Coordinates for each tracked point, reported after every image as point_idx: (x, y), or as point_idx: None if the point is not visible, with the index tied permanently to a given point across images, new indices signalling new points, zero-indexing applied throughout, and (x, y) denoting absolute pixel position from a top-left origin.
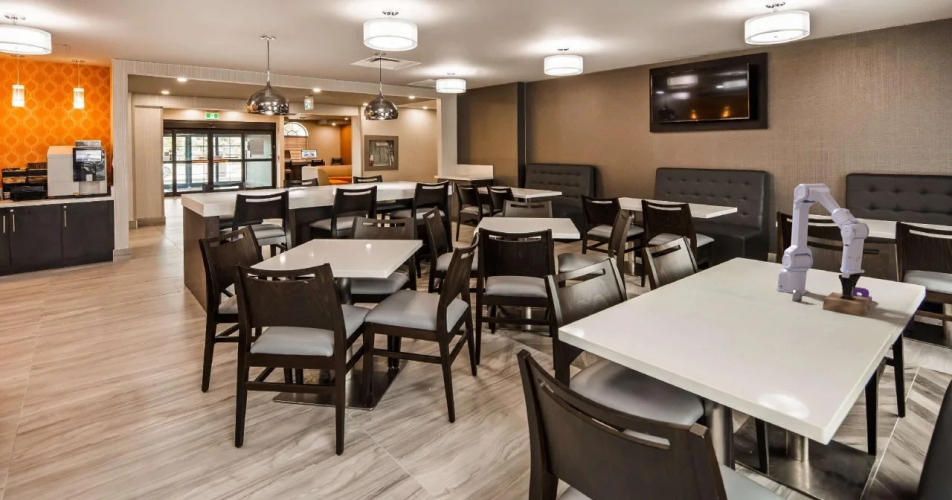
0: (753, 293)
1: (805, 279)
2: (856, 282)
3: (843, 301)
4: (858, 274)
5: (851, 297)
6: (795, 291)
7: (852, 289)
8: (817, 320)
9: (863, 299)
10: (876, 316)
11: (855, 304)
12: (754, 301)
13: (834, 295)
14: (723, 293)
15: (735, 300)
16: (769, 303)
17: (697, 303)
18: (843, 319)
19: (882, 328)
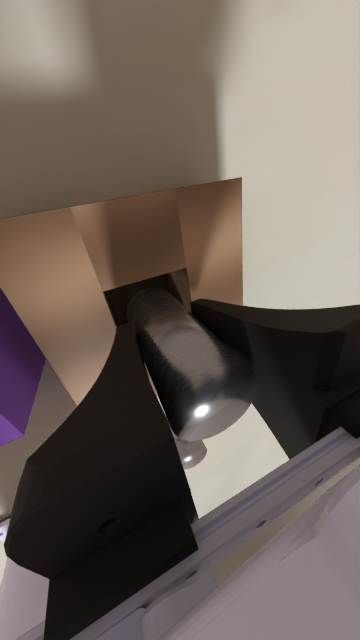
0: (191, 487)
1: (30, 587)
2: (141, 364)
3: (241, 287)
4: (140, 486)
5: (167, 296)
6: (205, 451)
7: (188, 319)
8: (341, 266)
9: (95, 243)
10: (156, 118)
11: (237, 227)
12: (257, 432)
13: None
14: (237, 484)
15: (272, 442)
16: (253, 415)
17: None
18: (299, 220)
19: (353, 18)
